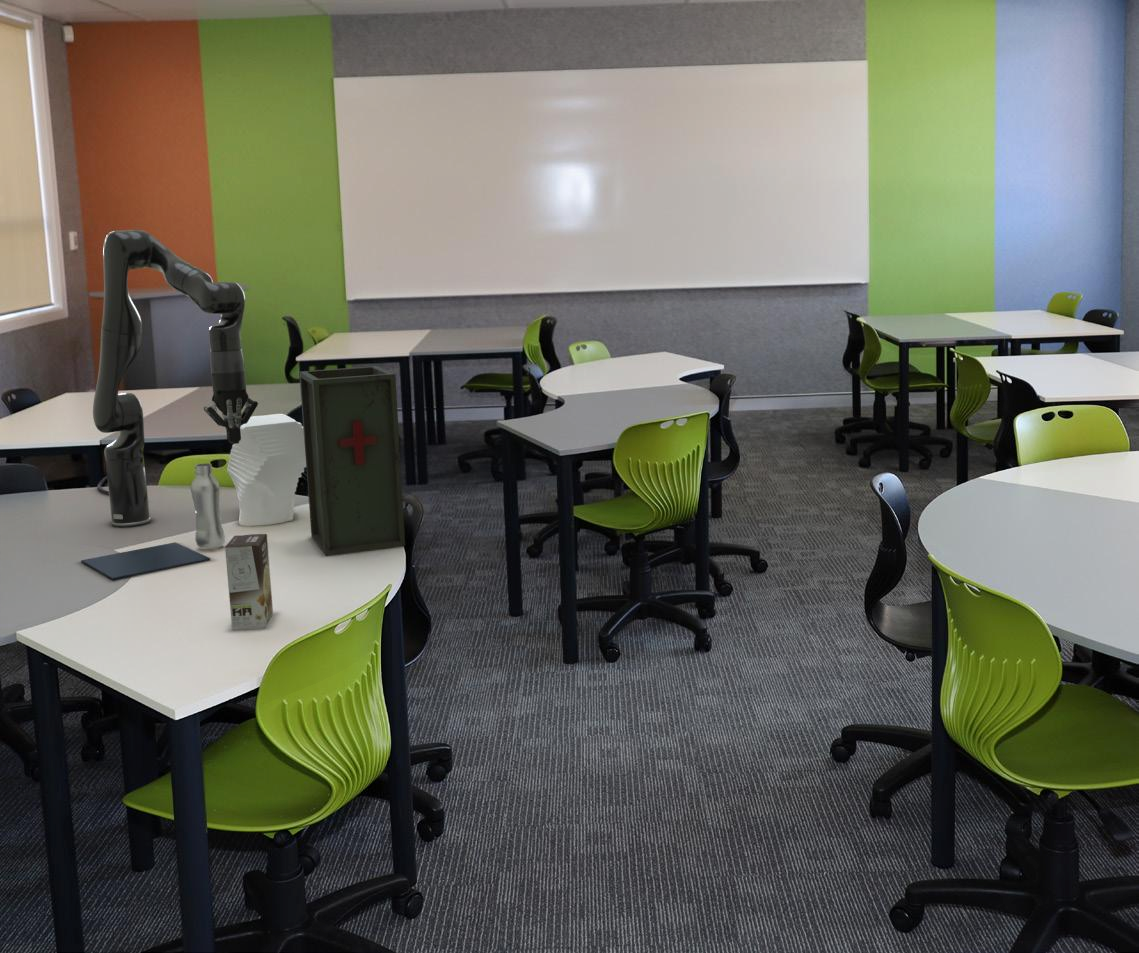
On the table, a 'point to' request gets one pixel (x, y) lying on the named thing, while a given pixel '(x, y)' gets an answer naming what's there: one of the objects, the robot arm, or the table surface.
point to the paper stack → (267, 468)
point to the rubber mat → (144, 561)
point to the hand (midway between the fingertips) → (234, 443)
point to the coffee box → (249, 581)
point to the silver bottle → (207, 508)
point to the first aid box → (352, 459)
